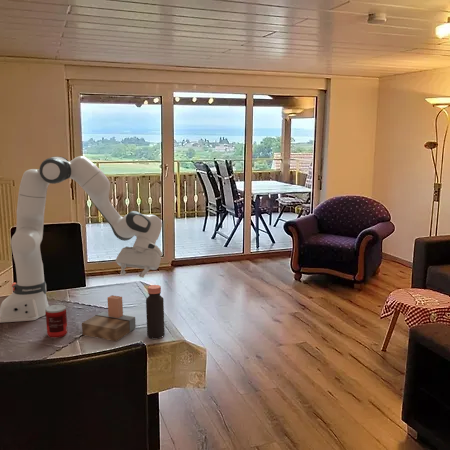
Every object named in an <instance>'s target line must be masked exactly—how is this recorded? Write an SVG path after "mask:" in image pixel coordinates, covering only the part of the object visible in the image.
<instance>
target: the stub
mask: <svg viewBox="0 0 450 450" xmlns="http://www.w3.org/2000/svg"><path fill="white" fill-rule="evenodd" d="M123 304H124V303H123V296H118V295H110V296H108V297H107V312H106V311H101V312H99V313H98V314H96V315H101V316H107V317H112V318H118V319H124V320H129V328H130V333H131V332H133V330H135V329H136V328H137V327H136V326H137V325H136V316H131V315H127V314H126V315H125V314H124V309H123V308H124V307H123Z"/></svg>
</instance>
